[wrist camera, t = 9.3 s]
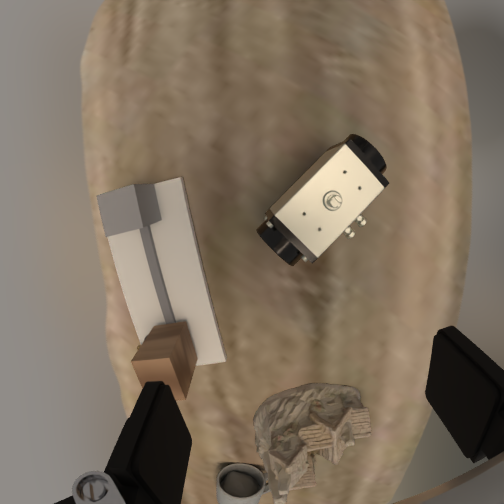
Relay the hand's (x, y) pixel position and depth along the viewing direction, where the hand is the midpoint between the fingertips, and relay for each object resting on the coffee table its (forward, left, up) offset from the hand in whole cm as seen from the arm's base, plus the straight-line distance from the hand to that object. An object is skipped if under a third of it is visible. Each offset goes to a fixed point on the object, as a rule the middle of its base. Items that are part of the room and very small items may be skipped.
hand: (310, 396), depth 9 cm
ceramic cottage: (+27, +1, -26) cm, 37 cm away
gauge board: (+2, -13, -25) cm, 28 cm away
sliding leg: (+9, -14, -23) cm, 28 cm away
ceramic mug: (+38, -10, -26) cm, 47 cm away
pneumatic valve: (-4, +5, -26) cm, 26 cm away
